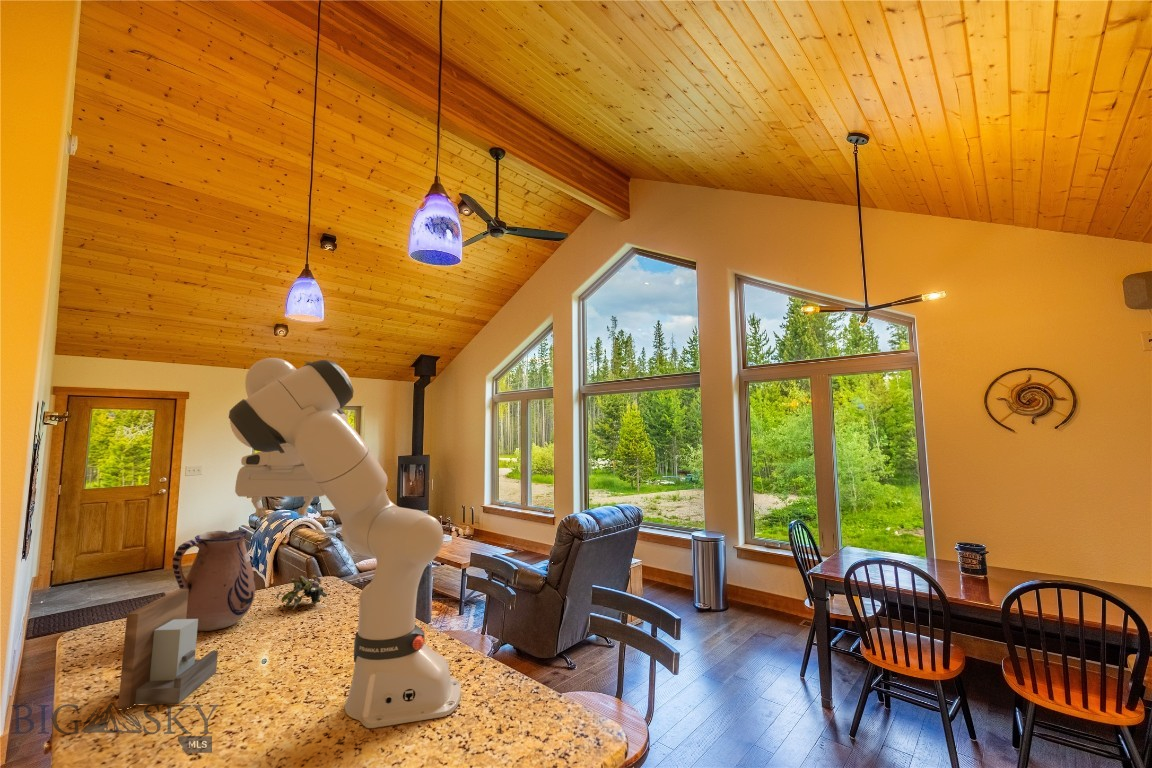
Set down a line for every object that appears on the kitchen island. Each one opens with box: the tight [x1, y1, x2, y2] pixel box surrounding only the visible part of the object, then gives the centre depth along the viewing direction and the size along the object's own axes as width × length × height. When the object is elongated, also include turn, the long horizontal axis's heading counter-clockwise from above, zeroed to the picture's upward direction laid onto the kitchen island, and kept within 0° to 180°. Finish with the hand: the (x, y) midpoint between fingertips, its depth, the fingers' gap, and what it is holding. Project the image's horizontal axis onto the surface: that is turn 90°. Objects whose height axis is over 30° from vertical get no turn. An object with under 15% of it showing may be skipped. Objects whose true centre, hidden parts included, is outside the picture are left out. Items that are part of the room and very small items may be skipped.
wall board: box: [117, 588, 219, 710], centre depth 107 cm, size 10×16×18 cm, turn 8°
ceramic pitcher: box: [172, 529, 256, 632], centre depth 140 cm, size 18×21×25 cm
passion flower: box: [276, 574, 328, 612], centre depth 156 cm, size 11×11×12 cm
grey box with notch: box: [150, 619, 198, 681], centre depth 107 cm, size 6×6×10 cm
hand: (281, 515), depth 121 cm, fingers open, 8 cm apart
